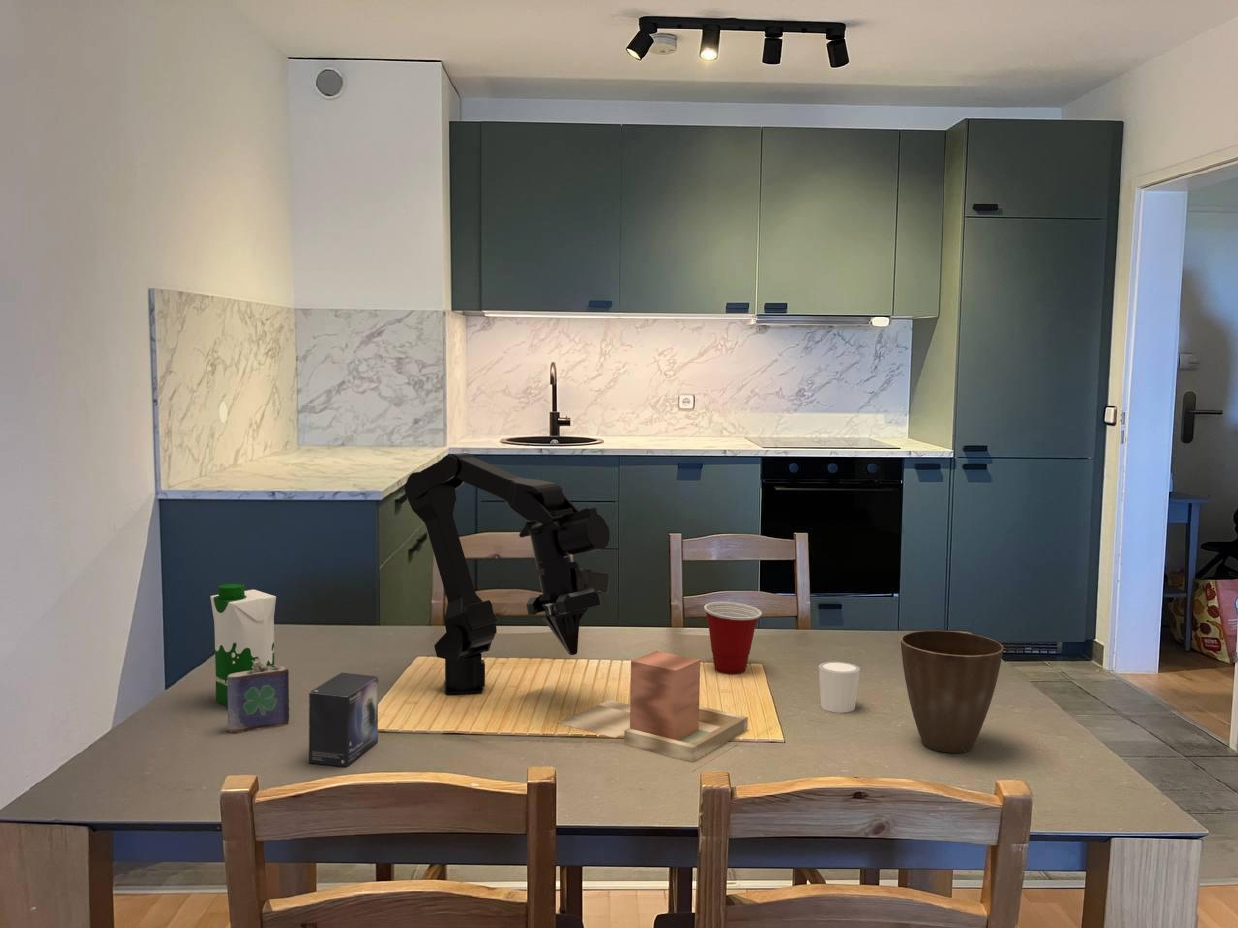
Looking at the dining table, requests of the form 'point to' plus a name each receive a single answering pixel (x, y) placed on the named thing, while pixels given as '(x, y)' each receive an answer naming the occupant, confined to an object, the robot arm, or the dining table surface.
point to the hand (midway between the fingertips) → (573, 654)
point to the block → (665, 695)
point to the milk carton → (241, 632)
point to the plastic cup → (731, 634)
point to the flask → (258, 698)
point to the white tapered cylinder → (838, 686)
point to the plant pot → (950, 685)
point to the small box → (343, 719)
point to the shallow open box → (616, 721)
